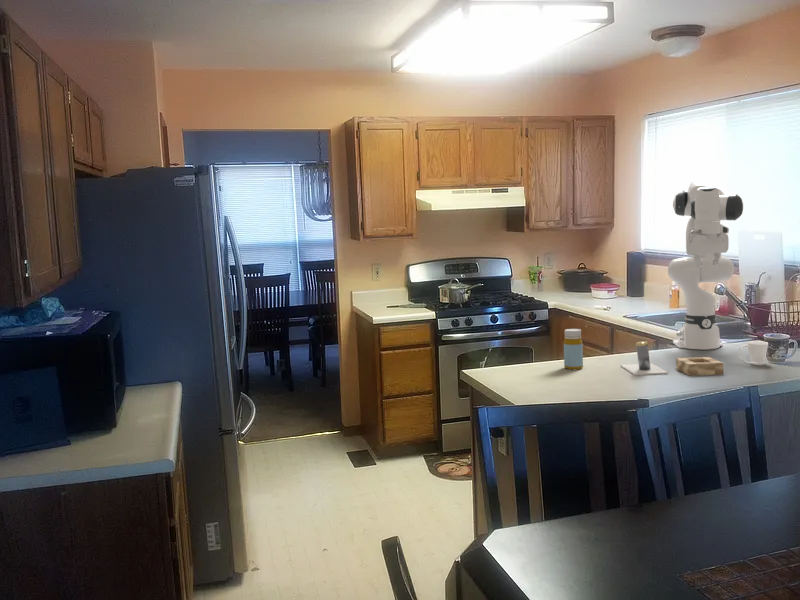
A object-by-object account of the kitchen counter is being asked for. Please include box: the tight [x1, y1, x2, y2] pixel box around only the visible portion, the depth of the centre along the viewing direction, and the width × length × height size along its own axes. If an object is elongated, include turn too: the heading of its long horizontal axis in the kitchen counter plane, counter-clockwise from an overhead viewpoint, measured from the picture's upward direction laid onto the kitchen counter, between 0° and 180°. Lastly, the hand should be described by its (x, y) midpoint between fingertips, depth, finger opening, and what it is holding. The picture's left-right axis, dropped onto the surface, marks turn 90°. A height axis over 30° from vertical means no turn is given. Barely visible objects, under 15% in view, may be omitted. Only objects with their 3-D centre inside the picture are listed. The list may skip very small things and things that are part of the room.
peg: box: [635, 340, 651, 370], centre depth 249 cm, size 4×4×10 cm
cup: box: [738, 340, 769, 366], centre depth 253 cm, size 7×10×8 cm
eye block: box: [675, 356, 724, 377], centre depth 245 cm, size 12×12×4 cm
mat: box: [620, 363, 669, 376], centre depth 251 cm, size 16×12×1 cm
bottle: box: [563, 328, 584, 370], centre depth 260 cm, size 7×7×15 cm
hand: (707, 266), depth 257 cm, fingers open, 8 cm apart
